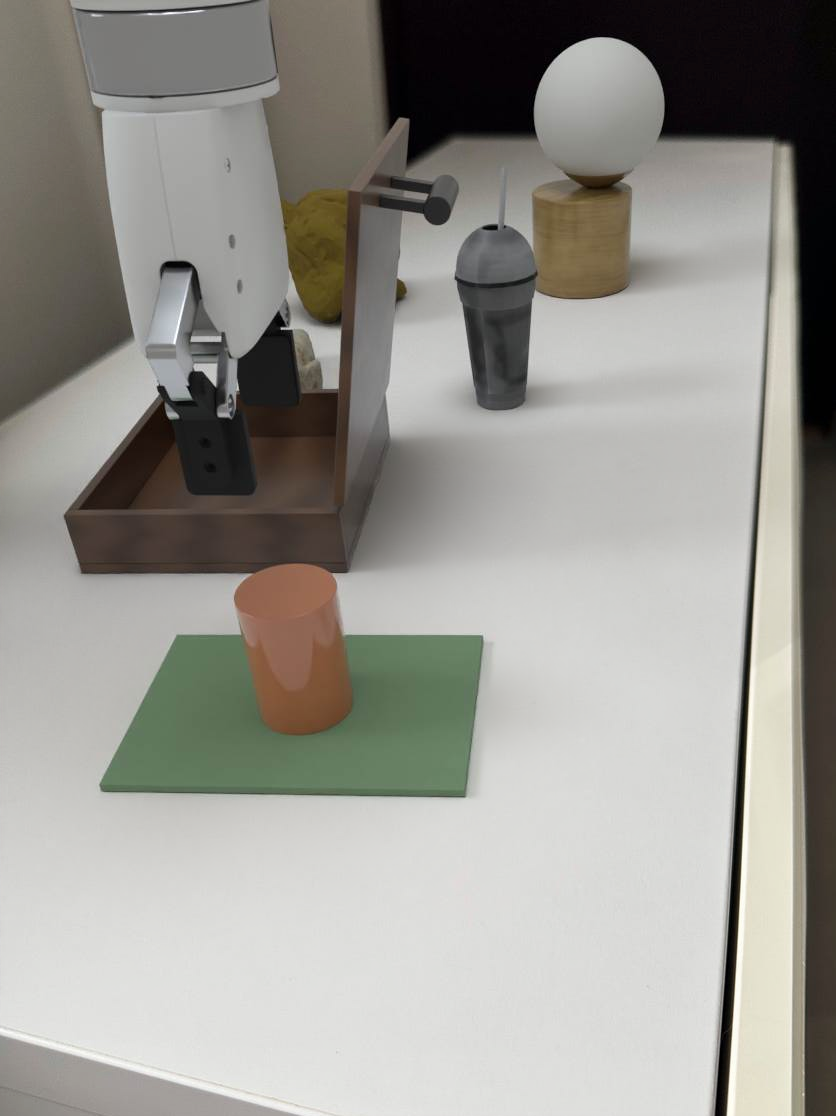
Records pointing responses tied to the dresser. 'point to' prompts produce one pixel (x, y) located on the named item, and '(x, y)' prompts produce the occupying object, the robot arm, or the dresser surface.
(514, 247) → the beverage cup
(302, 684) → the cylinder
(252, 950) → the dresser surface
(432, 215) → the lid
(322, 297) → the olive lumpy blob
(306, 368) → the sculpture
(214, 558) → the chest
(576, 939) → the dresser surface
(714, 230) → the dresser surface
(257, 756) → the mat
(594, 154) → the lamp
